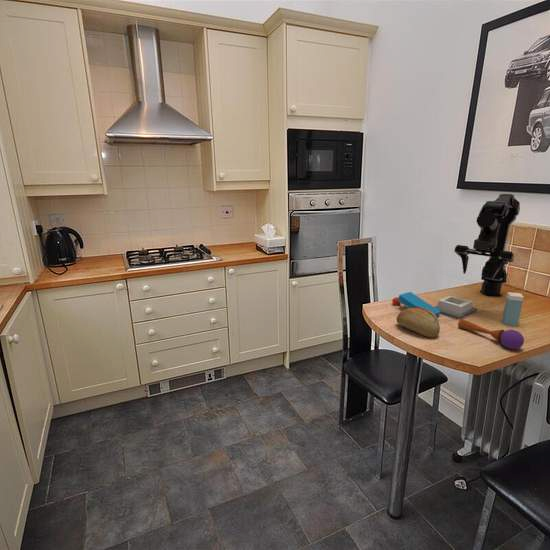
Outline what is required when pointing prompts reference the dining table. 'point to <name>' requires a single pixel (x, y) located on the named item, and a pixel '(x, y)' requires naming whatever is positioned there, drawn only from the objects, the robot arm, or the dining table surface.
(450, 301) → the board
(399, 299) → the blue long block
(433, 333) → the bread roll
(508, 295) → the box with white lid
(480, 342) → the dining table surface
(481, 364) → the dining table surface
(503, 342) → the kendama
